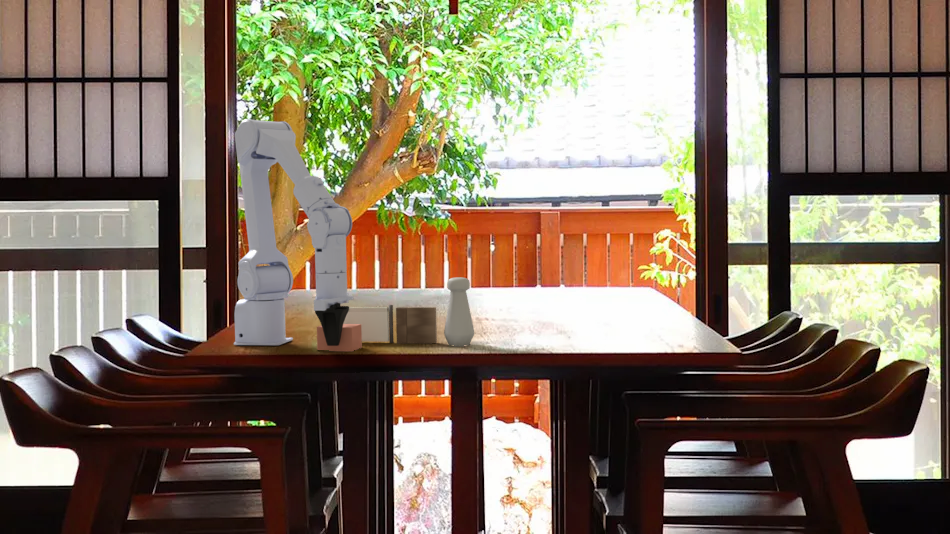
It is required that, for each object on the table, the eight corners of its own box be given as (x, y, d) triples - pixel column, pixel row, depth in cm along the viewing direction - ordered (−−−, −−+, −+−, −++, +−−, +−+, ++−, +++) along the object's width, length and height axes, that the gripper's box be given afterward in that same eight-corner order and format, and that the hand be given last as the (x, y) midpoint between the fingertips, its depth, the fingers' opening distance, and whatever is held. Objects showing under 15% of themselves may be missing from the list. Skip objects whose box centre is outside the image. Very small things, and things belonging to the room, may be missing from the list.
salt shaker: (470, 347, 177) (469, 278, 176) (441, 346, 178) (440, 278, 178) (477, 342, 183) (476, 276, 182) (448, 342, 184) (447, 276, 183)
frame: (321, 342, 186) (320, 305, 186) (325, 341, 188) (324, 304, 188) (435, 343, 182) (434, 305, 182) (437, 342, 184) (436, 304, 184)
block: (317, 350, 176) (316, 326, 176) (327, 346, 181) (327, 323, 181) (352, 351, 174) (351, 327, 174) (361, 347, 179) (361, 324, 179)
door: (334, 341, 186) (333, 307, 186) (335, 340, 187) (335, 307, 187) (387, 341, 184) (387, 307, 184) (389, 340, 186) (388, 307, 185)
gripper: (339, 275, 165) (341, 351, 166) (363, 269, 179) (364, 340, 180) (301, 275, 166) (304, 351, 167) (327, 269, 181) (329, 339, 181)
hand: (333, 345), depth 174 cm, fingers closed
